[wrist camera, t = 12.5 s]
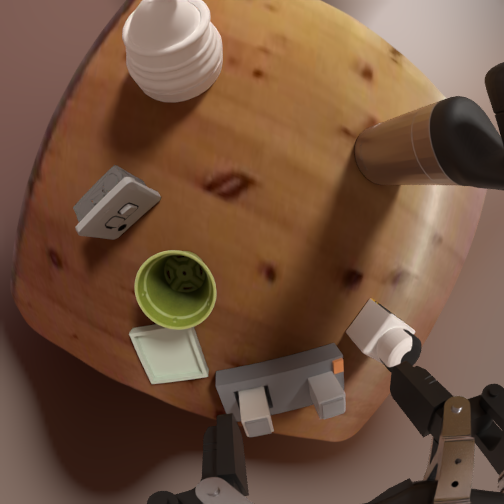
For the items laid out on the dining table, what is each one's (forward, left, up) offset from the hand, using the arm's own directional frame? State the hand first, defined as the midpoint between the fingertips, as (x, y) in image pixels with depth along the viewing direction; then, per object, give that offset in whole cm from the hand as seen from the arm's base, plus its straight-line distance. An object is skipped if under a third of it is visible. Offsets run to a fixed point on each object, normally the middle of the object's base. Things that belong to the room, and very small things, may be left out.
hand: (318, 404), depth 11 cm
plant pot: (+10, -1, -28) cm, 30 cm away
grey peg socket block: (0, +21, -28) cm, 35 cm away
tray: (+16, +11, -28) cm, 34 cm away
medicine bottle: (-17, +15, -28) cm, 36 cm away
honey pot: (+5, -31, -28) cm, 42 cm away
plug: (+5, +21, -27) cm, 35 cm away
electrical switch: (+16, -12, -28) cm, 35 cm away
